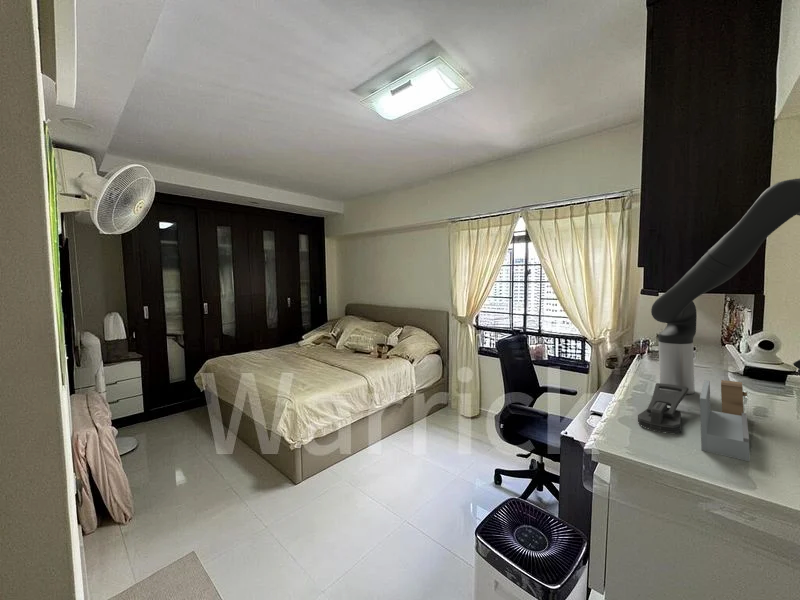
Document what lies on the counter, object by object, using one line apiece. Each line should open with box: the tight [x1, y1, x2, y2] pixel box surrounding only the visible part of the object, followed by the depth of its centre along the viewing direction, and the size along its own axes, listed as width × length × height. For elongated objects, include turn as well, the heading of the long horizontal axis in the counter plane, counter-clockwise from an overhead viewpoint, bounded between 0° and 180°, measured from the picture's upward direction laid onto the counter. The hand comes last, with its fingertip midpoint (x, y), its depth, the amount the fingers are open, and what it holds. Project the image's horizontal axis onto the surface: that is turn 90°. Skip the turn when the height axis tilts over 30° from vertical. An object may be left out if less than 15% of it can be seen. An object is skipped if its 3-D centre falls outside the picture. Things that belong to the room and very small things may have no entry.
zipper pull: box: [637, 382, 689, 434], centre depth 91 cm, size 9×7×25 cm
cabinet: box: [720, 379, 748, 416], centre depth 87 cm, size 5×5×10 cm
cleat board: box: [699, 379, 751, 462], centre depth 76 cm, size 18×7×12 cm, turn 134°
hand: (799, 370), depth 78 cm, fingers open, 8 cm apart
